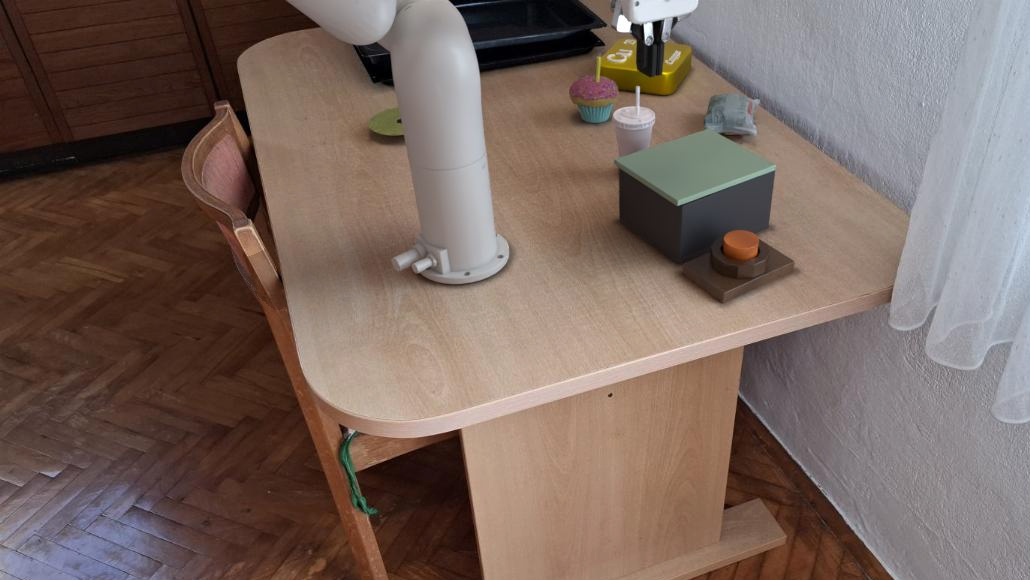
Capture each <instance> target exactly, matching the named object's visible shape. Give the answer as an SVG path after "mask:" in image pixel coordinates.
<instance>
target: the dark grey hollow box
mask: <svg viewBox="0 0 1030 580" xmlns="http://www.w3.org/2000/svg"><path fill="white" fill-rule="evenodd" d="M775 177H776V169H775V170H774V171H772V172H769V173H766V174H763V175H761V176H758V177H755V178H753V179H750V180H747V181H744V182H742V183H739V184H736V185H734V186H731V187H728V188H725V189H723V190H720V191H717V192H715V193H712V194H709V195H707V196H704V197H701V198H698V199H696V200H693V201H690V202H688V203H685V204H682V205H679V206H676V205H675V204H673V203H672V202H670V201H669V200H667V199H666V198H664V197H663V196H661V195H660V194H658V193H657V192H655V191H654V190H652V189H651V188H649V187H648V186H646V185H644V184H643V183H641V182H640V181H638V180H637V179H635V178H634V177H632V176H631V175H629V174H628V173H626V172H625V171H623V170H622V169H620V168H619V167H618V222H620V223H621V224H623V225H624V226H625V227H627V228H628V229H629V230H630V231H632V232H633V233H635V234H636V235H638V236H639V237H640V238H642V239H643V240H644V241H646V242H647V243H648V244H650V245H651V246H653V247H654V248H655V249H657V250H658V251H660V252H661V253H662V254H663V255H665V256H666V257H668V258H669V259H670V260H672V261H673V262H674V263H676V264H677V265H678V266H680V265H681V266H682V265H683V264H684V263H686V262H689V261H691V260H694V259H696V258H698V257H701V256H703V255H706V254H708V253H710V249H711V246H712V244H713V243H714V242H715V240H716V239H718V238H721V237H723V236H725V235H726V234H727V233H728V232H731V231H735V230H745V231H749V232H752V233H754V234H755V235H756V234H757V233H759V232H762V231H765V230H767V229H769V227H770V226H769V225H770V217H771V209H772V202H773V193H774V186H775V185H774V184H775Z"/></svg>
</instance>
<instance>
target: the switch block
mask: <svg viewBox="0 0 1030 580" xmlns="http://www.w3.org/2000/svg"><path fill="white" fill-rule="evenodd" d="M723 241H724V236H723V237H721V238H718V239H716V240H715V242H714V243H713V244H712V246H711V249H710V253H707V254H705V255H702V256H700V257H698V258H695V259H693V260H690V261H688V262H686V263H683V264H682V275H684V277H686V278H688V279H689V280H690V281H691V282H693V283H694V284H696V285H697V286H699V288H701V289H703V290H704V291H705V292H707V293H708V294H709V295H711V296H712V297H713V298H715V299H716V300H717V301H719V302H720V303H721V304H725V303H727V302H730V301H732V300H734V299H736V298H739V297H741V296H743V295H745V294H747V293H750V292H752V291H754V290H756V289H758V288H761V287H762V286H764V285H767V284H769V283H771V282H773V281H776V280H778V279H780V278H782V277H785V276H787V275H790V274H791V273H793V272H794V271H795V264H796V261H795V260H794V259H792V258H790V257H789V256H787V255H785V254H784V253H782V252H781V251H779V250H778V249H776V248H775V247H773V246H771V245H770V244H768V243H767V242H765V241H763V240H762V239H761V238H759V245H758V254H757V256H756V257H755V258H753V259H751V260H743V261H738V260H734V259H730V258H728V257H726V256H725V255H724V254H723Z"/></svg>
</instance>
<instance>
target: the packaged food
mask: <svg viewBox="0 0 1030 580" xmlns="http://www.w3.org/2000/svg"><path fill="white" fill-rule="evenodd" d="M760 103H761V99H758V98H757V99H756V98H755V99H752V98H750V97H748V96H745V95H743V94H740V92H736V93H735V92H734V93H721V94H714V95H712V96H711V97H710V99H709V100H708V105H707V110H706V115H705V116H704V118H703V125H704V126H703V128H704V130H706V129H711V130H713V131H714V132H716V133H718V134H720V135H722V136H747V135H750V136H754V137H756V136H757V134H758V129H757V126H756V125H755V124H754V115H755V111H756V109H758V106H759V105H760Z"/></svg>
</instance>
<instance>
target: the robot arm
mask: <svg viewBox="0 0 1030 580" xmlns="http://www.w3.org/2000/svg"><path fill="white" fill-rule="evenodd" d="M608 1H609V3H608V4H609V9H610V12H611V13H612V18H611V22H610V27H611V28H612V29H613V30H615V31H617V32H619V33H629V34H630V35H631V36H632V39H636V40H637V48H636V65H637V70H638V71H639V72H641V73H643V74H645V75H646V76H648V77H650V78H651V77H654V76H655V75H657V76H659V75H662V70H663V62H664V45H665V43H667V42H668V41H669V39H670V38H671V33H672V31H673V29H674V28H675V26H676V25H677V23H680V22H681V21H683V20H685V19H688V18H689V17H690V16H691V14H692V12H693V11H695V10H696V9H697V8H698V5H699V1H700V0H608ZM285 2H287V3H288V4H290V5H292V6H293V7H294V8H295V9H297V10H298V11H300V12H301V13H302V14H303V15H305V16H307V17H308V18H309V19H310V20H312V21H313V22H315V24H317V25H318V26H320V27H321V28H322V29H323V30H324V31H326V32H327V33H329V34H330V35H332V37H334V38H335V39H338V40H340V41H342V42H344V43H347V44H350V45H353V46H368V45H372V44H375V43H377V44H378V45H380V46H381V47H383V48H384V49H385V50H387V52H389V53H390V62H391V63H390V64H391V73H392V74H391V75H392V81H393V86H394V90H395V91H394V92H395V95H396V100H397V104H398V107H399V111H400V116H401V121H402V126H403V132H404V135H403V137H404V142H405V148H406V154H407V158H408V163H409V168H410V169H409V170H410V174H411V180H412V186H413V192H414V198H415V202H416V209H417V214H418V219H419V226H420V233H418V234H416V235H414V241H415V244H413V245H412V246H411V247H410V249H409V250H408V251H405V252H402V253H400V254H398V255H396V256H394V257H392V258H391V259H390V260H391V261H390V262H391V265H392V267H393V269H394V270H395V271H396V272H401V271H403V270H406V269H407V268H410V267H411V269H412V270H413V272H414V273H415V274H421V276H423V277H424V278H426V279H428V280H431V281H433V282H435V283H441V284H446V285H448V284H449V285H464V284H472V283H476V282H480V281H482V280H486V279H488V278H490V277H491V276H493V275H495V274H497V273H498V272H499V271H501V270H502V269H503V268H504V267H505V266H506V265H507V263H508V261H509V260H510V259H509V258H510V247H509V243H508V241H507V240H506V238H505V237H504V236H503V235H501V234H500V233H498V232H497V231H496V226H495V217H494V208H493V207H494V206H493V197H492V190H491V180H490V172H489V171H490V170H489V163H488V162H489V161H488V154H487V148H486V147H487V145H486V138H485V127H484V120H483V119H484V118H483V106H482V85H481V74H480V67H479V61H478V57H477V53H476V49H475V47H474V43H473V40H472V38H471V35H470V33H469V29H468V26H467V24H466V21H465V19H464V17H463V16H462V14H461V12H460V11H459V9H458V8H457V7H456V6H455V5H454V4H453V3H452V2H451V1H450V0H285Z"/></svg>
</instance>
